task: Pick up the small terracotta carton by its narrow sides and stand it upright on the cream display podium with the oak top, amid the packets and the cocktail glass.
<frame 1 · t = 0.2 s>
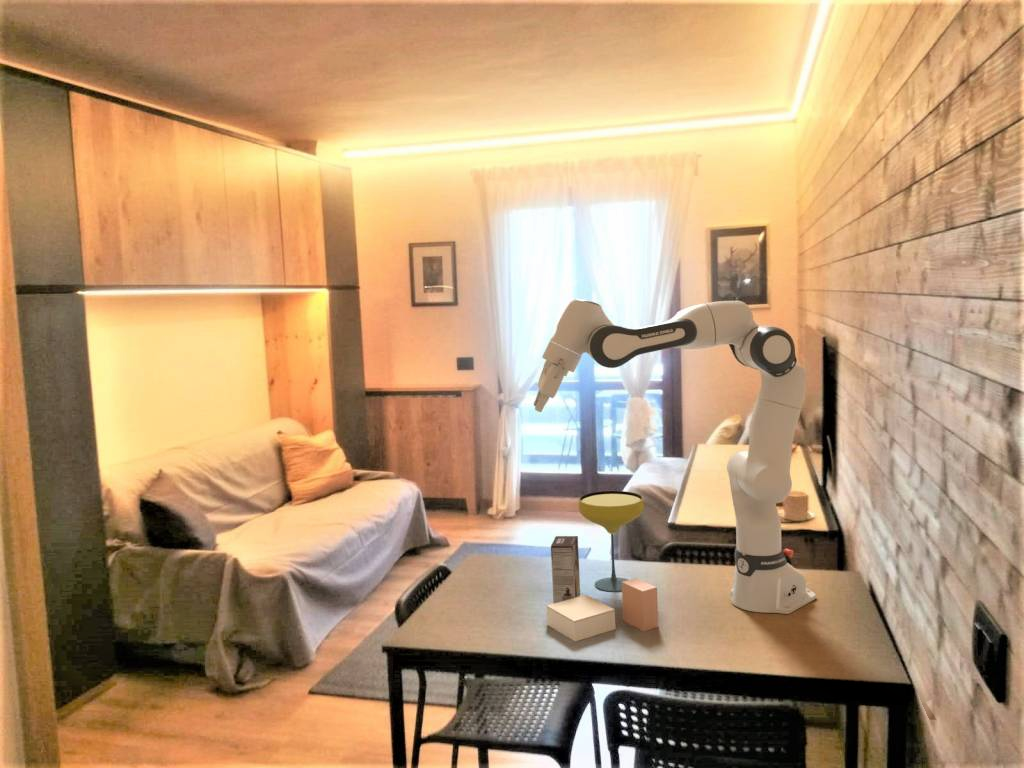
hand: (536, 408, 194), 54 cm above the table, tool tilted 30°, fingers open, 8 cm apart
coffee box: (567, 598, 210), on the table
cocktail glass: (614, 585, 218), on the table
podium: (581, 626, 191), on the table
carton: (640, 623, 191), on the table
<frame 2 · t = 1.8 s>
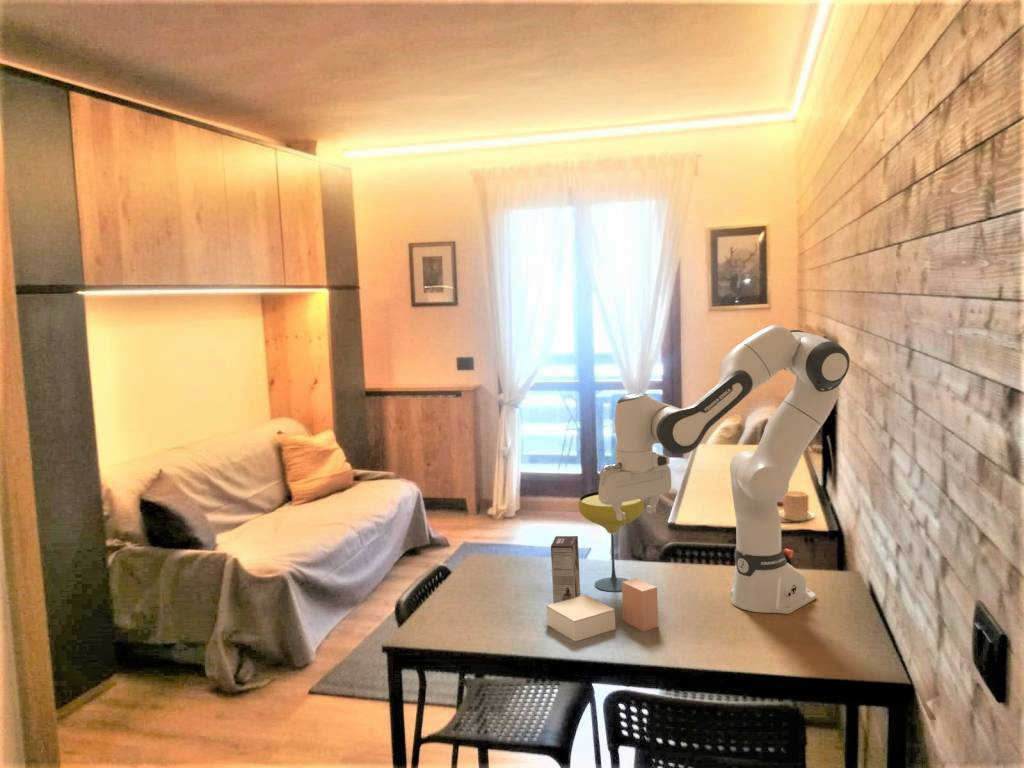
hand: (636, 516, 188), 27 cm above the table, tool pointing down, fingers open, 8 cm apart
nothing on the table moved.
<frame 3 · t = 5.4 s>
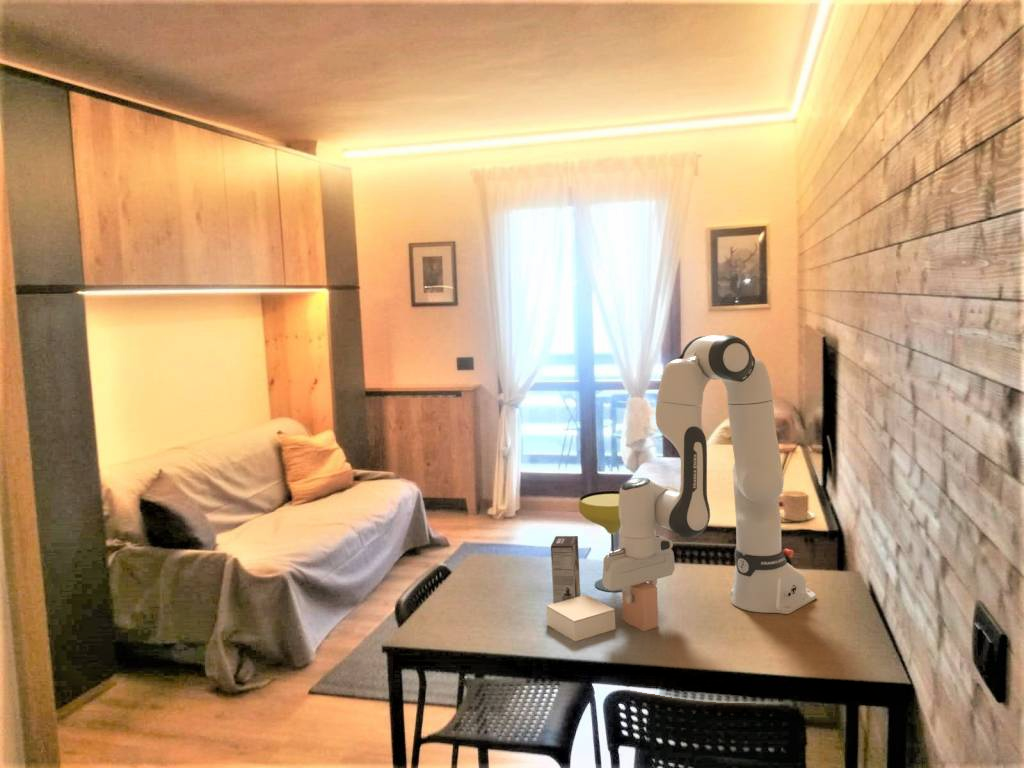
hand: (639, 599, 190), 6 cm above the table, tool pointing down, fingers closed on carton, 4 cm apart
carton: (640, 623, 191), on the table, touching gripper
everything else where it was.
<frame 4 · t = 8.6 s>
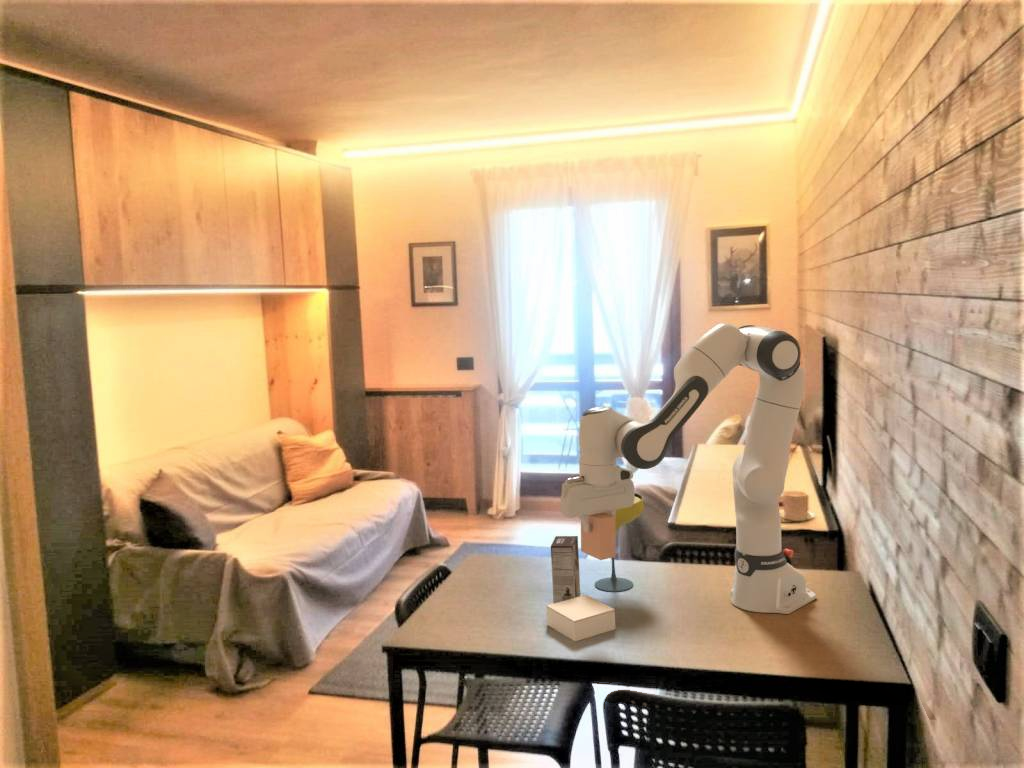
hand: (597, 529, 188), 24 cm above the table, tool pointing down, fingers closed on carton, 4 cm apart
carton: (598, 554, 189), point 18 cm above the table, touching gripper
everything else where it was.
when the fingers open (13 cm above the table, at t = 11.8 s): carton drops 1 cm, resting on podium.
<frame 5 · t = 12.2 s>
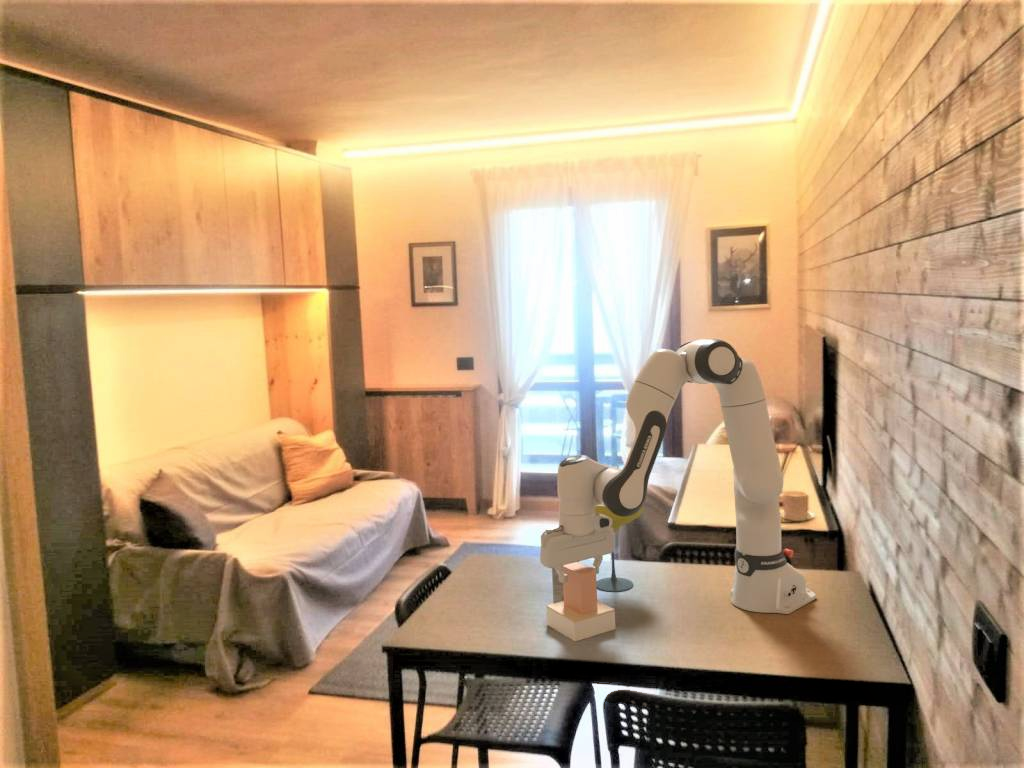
hand: (579, 577, 189), 13 cm above the table, tool pointing down, fingers open, 8 cm apart
carton: (580, 607, 190), point 5 cm above the table, touching podium
everything else where it was.
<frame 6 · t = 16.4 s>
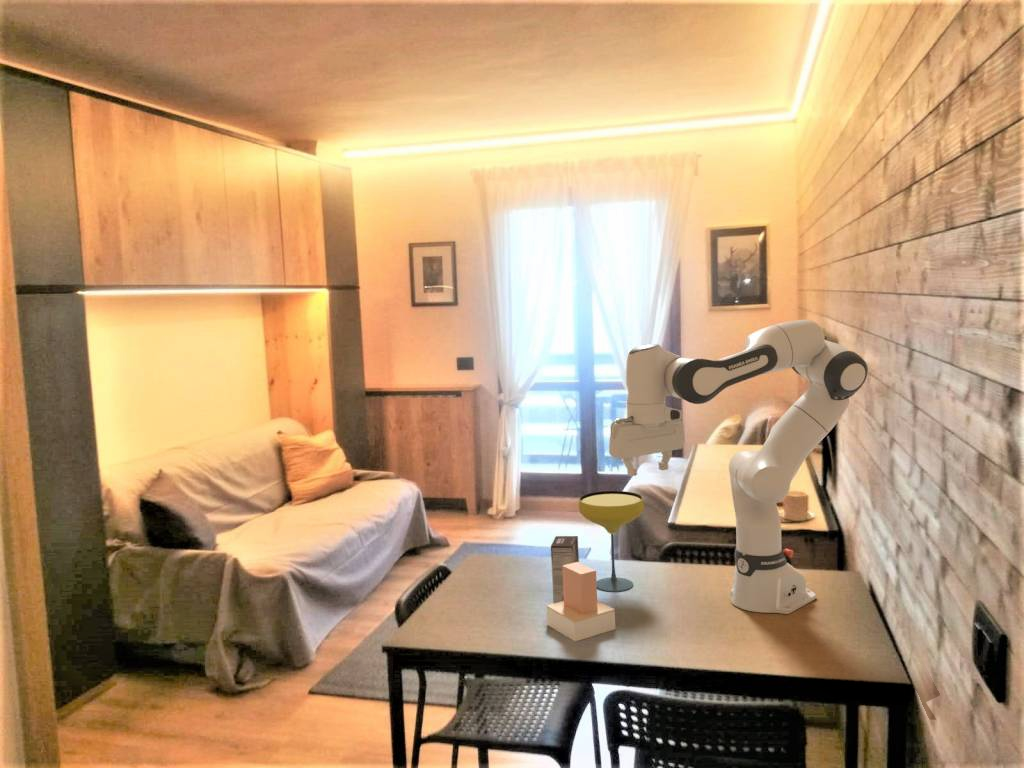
hand: (648, 472, 182), 39 cm above the table, tool pointing down, fingers open, 8 cm apart
nothing on the table moved.
at the end: carton inside the target area on the podium (0.1 cm from its centre), point 5.0 cm above the podium's base; carton tilted 0°; the gripper is holding nothing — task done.
